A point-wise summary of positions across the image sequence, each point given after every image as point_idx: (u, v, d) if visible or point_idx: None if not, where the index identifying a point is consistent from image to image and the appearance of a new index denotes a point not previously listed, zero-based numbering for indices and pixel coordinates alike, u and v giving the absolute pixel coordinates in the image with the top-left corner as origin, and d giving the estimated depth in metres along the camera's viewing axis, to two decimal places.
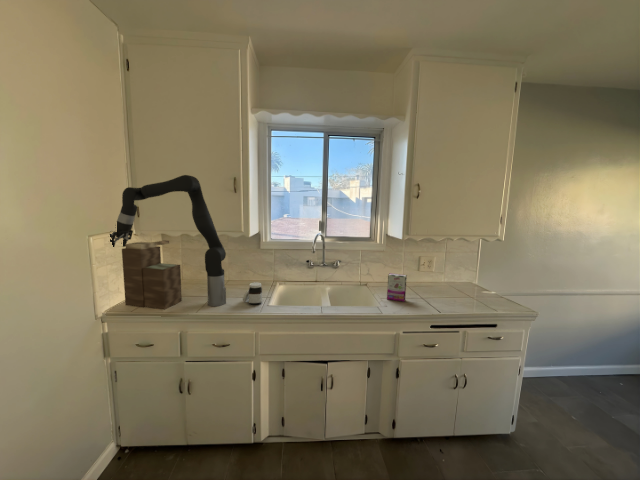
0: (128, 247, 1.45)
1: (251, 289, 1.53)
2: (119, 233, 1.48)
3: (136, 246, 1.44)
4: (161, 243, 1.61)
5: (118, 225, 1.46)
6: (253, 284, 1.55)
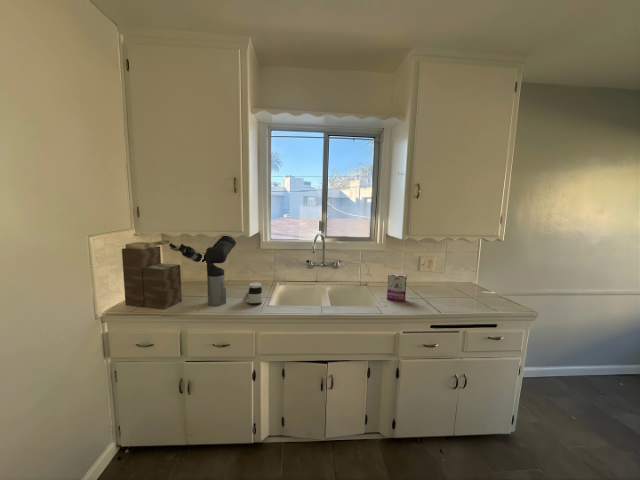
0: (128, 247, 1.45)
1: (251, 289, 1.53)
2: None
3: (136, 246, 1.44)
4: (161, 243, 1.61)
5: None
6: (253, 284, 1.55)
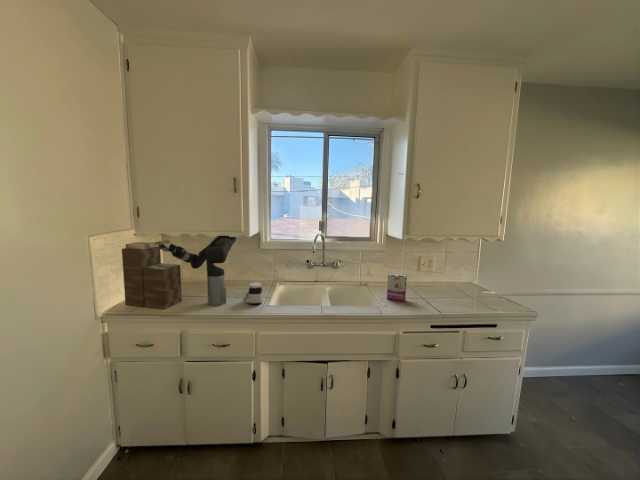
0: (128, 247, 1.45)
1: (251, 289, 1.53)
2: None
3: (136, 246, 1.44)
4: (161, 243, 1.61)
5: None
6: (253, 284, 1.55)
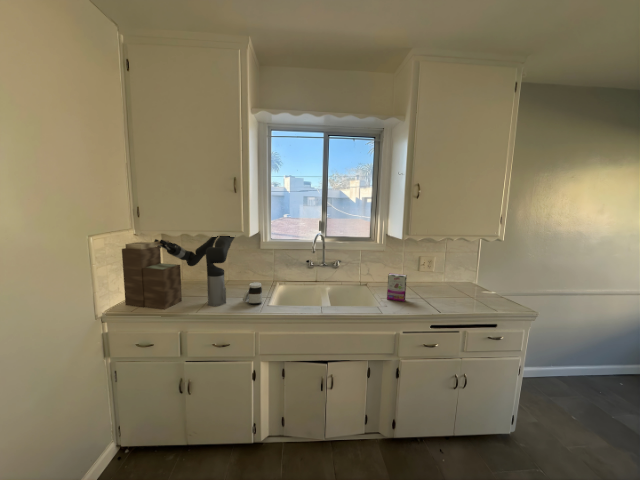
0: (128, 247, 1.45)
1: (251, 289, 1.53)
2: None
3: (136, 246, 1.44)
4: None
5: None
6: (253, 284, 1.55)
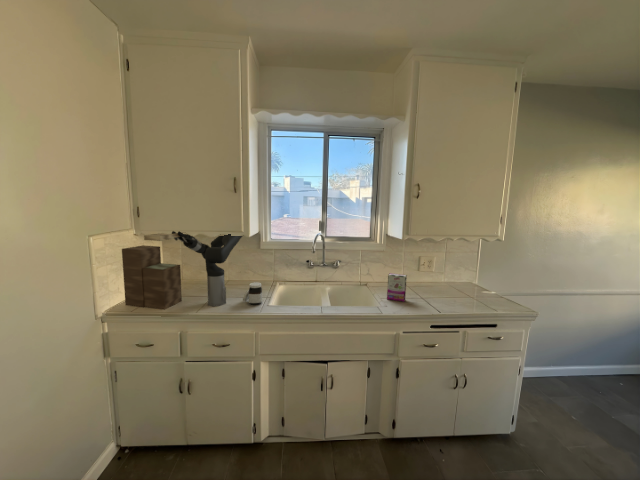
0: (147, 238, 1.42)
1: (251, 289, 1.53)
2: None
3: (155, 237, 1.41)
4: (178, 235, 1.58)
5: None
6: (253, 284, 1.55)
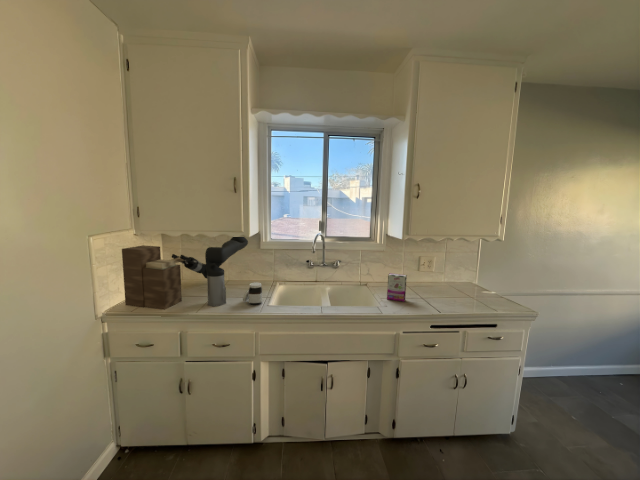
0: (148, 266, 1.44)
1: (251, 289, 1.53)
2: None
3: (157, 265, 1.43)
4: (180, 260, 1.60)
5: None
6: (253, 284, 1.55)
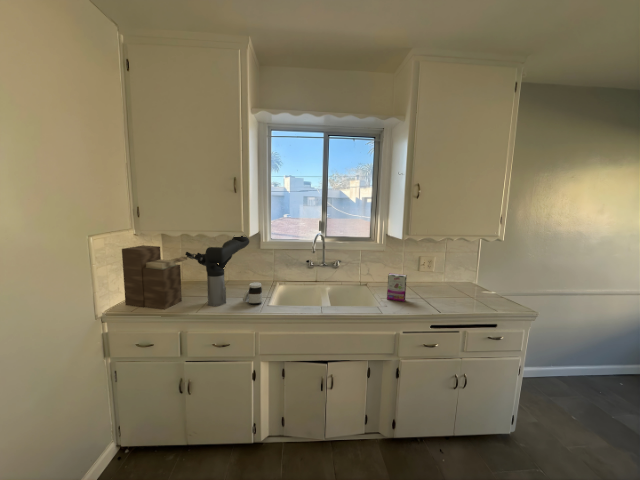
0: (148, 266, 1.44)
1: (251, 289, 1.53)
2: None
3: (157, 265, 1.43)
4: (180, 260, 1.60)
5: None
6: (253, 284, 1.55)
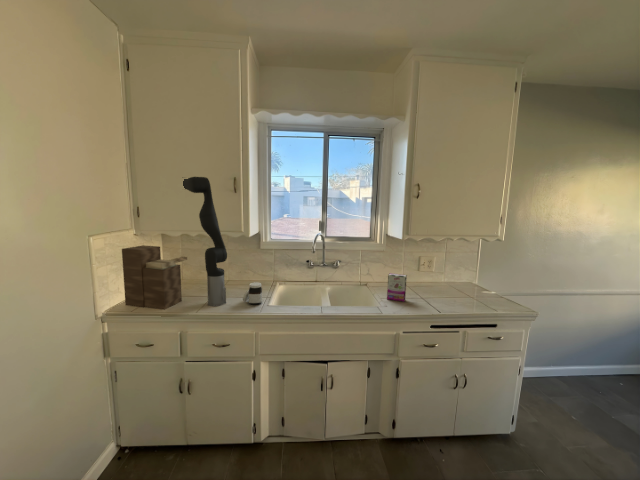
0: (148, 266, 1.44)
1: (251, 289, 1.53)
2: None
3: (157, 265, 1.43)
4: (180, 260, 1.60)
5: None
6: (253, 284, 1.55)
